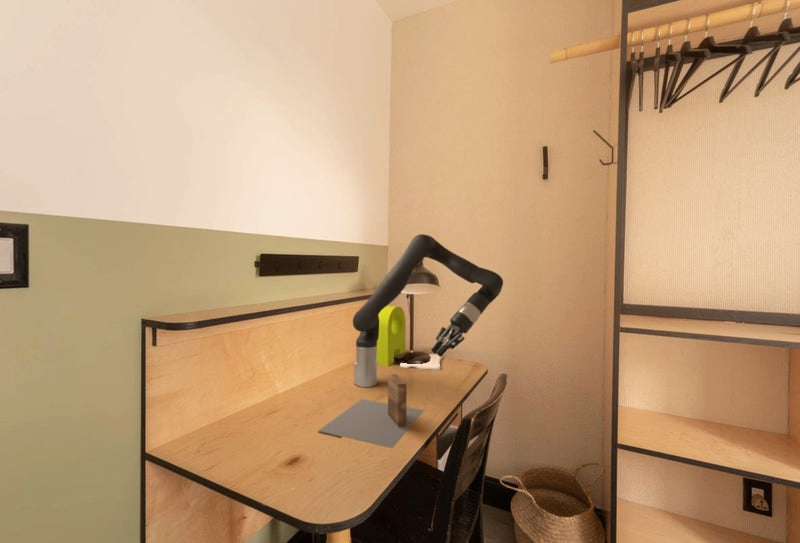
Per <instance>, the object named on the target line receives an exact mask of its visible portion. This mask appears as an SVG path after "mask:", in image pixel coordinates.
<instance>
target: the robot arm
mask: <svg viewBox="0 0 800 543" xmlns="http://www.w3.org/2000/svg"><path fill="white" fill-rule="evenodd" d="M424 258H428V259H431V260H433V261H436V262H438V263H440V264H442V265H443V266H445V268H447V269H448V270H450V271H451V272H452V273H454V274H455V275H456V276H458V277H460V278H461V279H463V280H465V281H466V282H468V283H470V284H475V283H476V284H478V285H480V286H481V287H480V288H479V289H478V290H477V291H476V292H474V293H472V294H471V295H470V296H469V298H467V300H466V301H465V302H464V303H463V305H461V306H460V308H459V309H458V310H457V311H456V312H455V313H454V314H453V315H452V317H451V318H450V320H449V321H450V324H449V325H448V326H447V327H446V328H445V326H442V327H441V328H440V330H439V332H438V334H437V336H436V337H435V340H436V343H435V344H434V345H433V347H432V348H431V349H430V351H431V352H432V353H433V354H438V355H439V356H440V357H442V355H443V356H444V354H445V353H446V352H447V351H448V350H450V349H451V350H453V349H455V348H457V346H458V345H459V344H461V343H462V342H463V341H464V340H465V339H466V338H465V337H464V335H463V334H467V333H468V332H469V330H471V329H472V327H473V326H474V325H475V324H476V322H478V320H479V318H480V317H481V315H482V314H483V313H484V311H485V310H486V309H487V307H488V306H489V305H490V304H491V303H492V302H493V301H494V300H495V299H496V298H497V297H499V295H500V293H501V292H502V288H503V285H504V280H503V278H502V276H501V275H499V273H497V272H495V271H493V270H490V269H487V268H485V267H479V266H478V265H477V264H475V263H473V262H471V261H469V260H467V259H466V258H464V257H462V256H460V255H459V254H456V253H454V252H453V251H451V250H449V249H448V248H446V247H445V246H443V245H442V244H441V243H440V242H438V241H437V240H436V239H435V238H434V237H433V236H431V235H428V234H423V233H422V234H417V235H415V236H414V237H413V238H412V239H411V241H410V243H409V244H408V246H407V247H406V249H405V250H404V253H402V255H401V257H400V258H399V259H398V260H397V262H396V263H395V264H394V266H393V267H392V268H391V269H390V270H389V272H388V273H387V274H386V275H385V277H384V278H383V279H382V281H381V282H380V284H379V285H378V286H377V287H376V289H375V290H374V291H373V293H372V294H371V296H370V297H369V299H368V300H367V301H366V302H365V303H364V304H363V305H362V306H361V307H360V308H359V309H358V310H357V312H356V313H355V314H354V315H353V318H352V326H353V328H354V329H355V331H358V332H359V335H358V337H357V338H356V340H355V347H356V348H355V349H356V350H355V353H356V354H355V358H356V359H355V362H354V364H353V366H354V368H353V370H354V371H353V372H354V375H353V376H354V377H353V378H354V380H353V383H354V385H357V386H358V387H361V388H371V387H374V386H377V383H378V364H377V340H378V337H379V314H380V312H381V310H382V309H383V308H385V307H386V306H389V305H390V304H391V303H392V302H394V300H395V299H397V298H398V296H399V295H400V294H401V293H402V291H403V290H404V289H405V287H406V286H407V285H408V283H409V280H410V278H411V276H412V274H413V271H414V269H415V268H416V267H417V265H418V264H419V263H420V262H421V261H422V260H423V259H424Z"/></svg>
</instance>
